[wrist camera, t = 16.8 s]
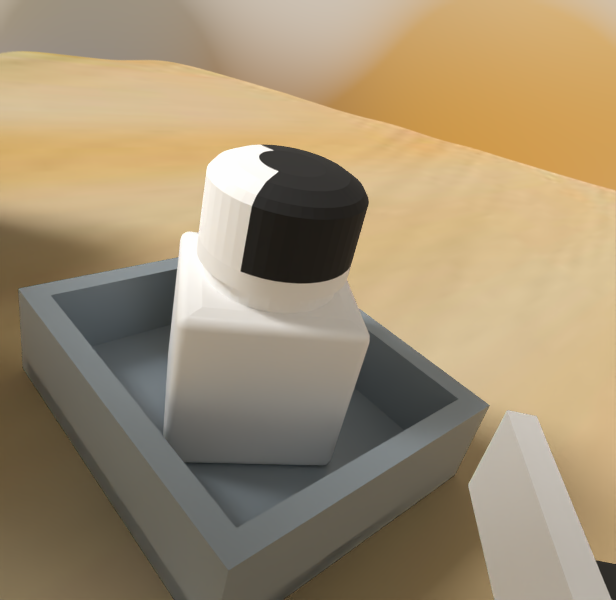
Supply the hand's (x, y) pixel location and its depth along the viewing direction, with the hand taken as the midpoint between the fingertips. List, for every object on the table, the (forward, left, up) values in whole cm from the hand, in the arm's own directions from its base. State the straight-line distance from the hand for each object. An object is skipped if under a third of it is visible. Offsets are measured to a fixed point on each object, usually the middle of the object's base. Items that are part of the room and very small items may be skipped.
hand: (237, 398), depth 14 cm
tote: (-7, +7, -10) cm, 14 cm away
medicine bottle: (-7, +7, -9) cm, 13 cm away
